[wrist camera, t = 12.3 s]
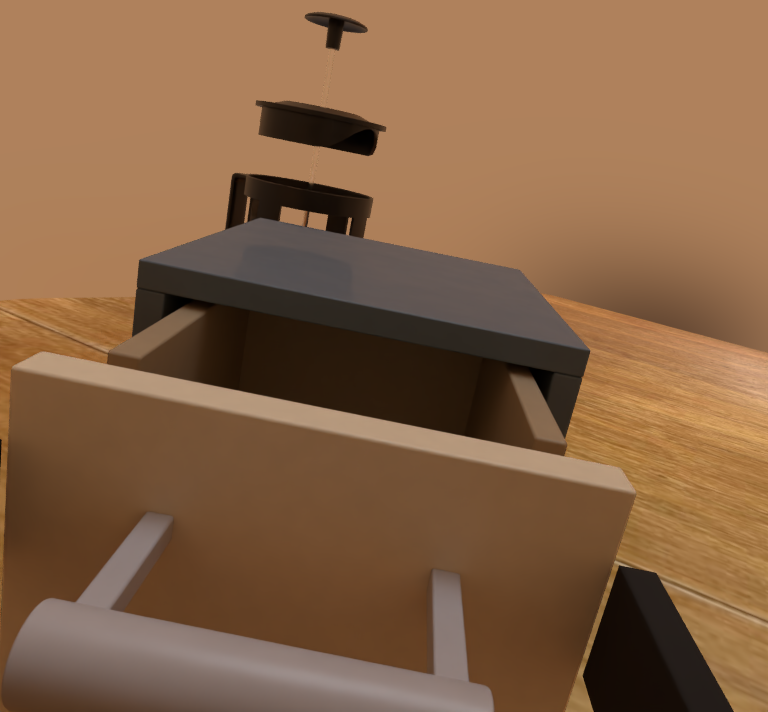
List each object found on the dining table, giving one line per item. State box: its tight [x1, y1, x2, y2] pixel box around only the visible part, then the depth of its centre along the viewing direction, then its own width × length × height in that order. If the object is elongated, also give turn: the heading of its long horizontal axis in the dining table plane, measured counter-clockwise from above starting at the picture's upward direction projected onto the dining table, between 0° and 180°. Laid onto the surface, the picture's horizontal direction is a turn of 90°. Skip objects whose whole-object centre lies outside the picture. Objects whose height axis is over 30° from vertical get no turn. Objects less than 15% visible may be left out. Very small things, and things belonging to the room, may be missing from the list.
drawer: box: [0, 300, 636, 712], centre depth 19 cm, size 19×13×9 cm, turn 179°
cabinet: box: [132, 218, 590, 439], centre depth 30 cm, size 16×14×11 cm
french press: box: [225, 12, 386, 238], centre depth 49 cm, size 12×9×23 cm
